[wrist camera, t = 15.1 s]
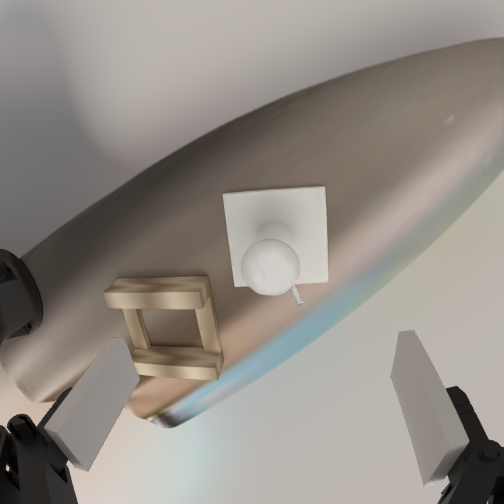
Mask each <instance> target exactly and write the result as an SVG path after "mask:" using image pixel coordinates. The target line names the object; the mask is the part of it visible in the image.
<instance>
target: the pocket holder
mask: <svg viewBox="0 0 504 504" xmlns="http://www.w3.org/2000/svg"><path fill="white" fill-rule="evenodd" d="M103 296H104V299H105V302H106V305H107V308H122V309H123V313H124V316H125V319H126V322H127V325H128V328H129V331H130V334H131V337H132V340H133V343H134V346H135V350H134V351H133V353H132V354H131V357H132V360H133V363H134V365H135V368H136V371H137V373H138V374H140V375H149V376H159V377H171V378H184V379H200V380H218V378H219V375H220V372H221V368H222V365H223V362H224V357H223V352H222V347H221V342H220V336H219V331H218V325H217V320H216V314H215V309H214V303H213V297H212V292H211V286H210V280H209V276H190V277H161V278H128V279H118V280H116V281H115V282H114V283H113V284H112V285H111V286H110V287H109V288H107V289H106V290H105V291H104V292H103ZM140 309H195V310H196V315H197V320H198V325H199V329H200V334H201V338H202V343H203V347H204V348H198V347H171V346H152V345H150V341H149V338H148V335H147V332H146V328H145V325H144V322H143V318H142V315H141V311H140Z"/></svg>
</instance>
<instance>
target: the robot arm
mask: <svg viewBox="0 0 504 504" xmlns="http://www.w3.org/2000/svg"><path fill="white" fill-rule="evenodd" d="M42 315H43V311H42V303H41V299H40V295H39V292H38V289H37V287H36V284H35V282H34V280H33V278H32V276H31V275H30V273H29V271H28V270H27V268H26V267H25V266H24V264H23V263H22V262H21V261H20V260H19V259H18V258H17V257H16V256H15V255H14V254H12V253H11V252H9V251H7V250H4V249H0V346H1V345H2V344H4V343H7V342H10V341H13V340H16V339H19V338H22V337H25V336H28V335H30V334H31V333H32V332H33V331H34V330H36V329H37V328H38V327H39V326H40V324H41V321H42ZM391 379H392V382H393V385H394V388H395V390H396V394H397V397H398V400H399V403H400V405H401V409H402V412H403V415H404V418H405V421H406V424H407V428H408V431H409V434H410V437H411V441H412V444H413V448H414V451H415V455H416V458H417V462H418V466H419V470H420V473H421V476H422V481H423V485H424V487H425V486H429V485H433V484H437V483H440V482H442V481H443V480H444V479H445V477H446V476H447V475H448V478H449V481H450V483H449V484H448V485H447V486H446V488H445V489H444V490H443V492H442V493H441V494H443V495H442V496H441V498H440V500H439V502H438V504H487V501H488V504H504V447H501V446H500V445H499V443H497V442H495V441H493V440H489V439H488V437H487V435H486V433H485V431H484V429H483V427H482V425H481V423H480V421H479V419H478V417H477V415H476V413H475V412H474V409H473V407H472V405H471V404H470V401H469V399H468V397H467V395H466V394H465V393H464V392H463V391H462V390H461V389H459V387H457V386H454V387H450V388H446V389H445V387H444V385H443V383H442V381H441V379H440V377H439V375H438V373H437V371H436V369H435V367H434V366H433V364H432V362H431V360H430V358H429V356H428V355H427V353H426V351H425V349H424V347H423V345H422V343H421V341H420V340H419V338H418V336H417V334H416V333H415V331H414V330H409V331H401V332H399V334H398V341H397V346H396V352H395V357H394V363H393V367H392V372H391ZM139 380H140V378H139V376H138V373H137V371H136V368H135V365H134V363H133V360H132V357H131V355H130V352H129V349H128V347H127V344H126V341H125V339H121V338H112V339H111V340H110V342H109V343H108V344H107V345H106V347H105V348H104V349H103V350H102V352H101V353H100V354H99V355H98V357H97V358H96V359H95V360H94V362H93V363H92V364H91V366H90V367H89V368H88V369H87V371H86V372H85V373H84V374H83V376H82V377H81V378H80V380H79V381H78V382H77V384H76V385H75V386H74V387H73V388H72V387H70V388H68V389H67V390H66V391H64V392H63V393H62V394H61V395H60V396H59V398H58V399H57V402H55V403H54V404H53V406H52V408H50V410H49V411H48V412H47V414H46V415H45V416H44V417H43V419H42V420H41V422H40V423H39V424H38V426H37V427H36V426H35V424H34V423H33V421H32V420H31V418H30V417H29V416H28V415H26V414H18V415H16V416H14V417H12V418H11V419H10V420H9V422H8V424H7V428H8V430H9V431H10V432H11V433H9V432H8V431H7V430H6V429H5V427H3V426H1V425H0V504H78V502H77V498H76V495H75V491H74V488H73V484H72V480H71V476H70V472H69V468H68V467H67V465H66V463H67V461H68V460H69V461H70V462H71V463H72V464H73V465H74V467H76V468H78V469H81V470H84V471H87V472H88V471H89V470H90V468H91V466H92V464H93V462H94V460H95V458H96V457H97V455H98V453H99V451H100V449H101V447H102V446H103V444H104V442H105V440H106V438H107V436H108V435H109V433H110V431H111V429H112V427H113V426H114V424H115V422H116V420H117V419H118V417H119V415H120V413H121V412H122V410H123V408H124V406H125V405H126V403H127V401H128V399H129V398H130V396H131V394H132V392H133V391H134V389H135V387H136V385H137V384H138V382H139ZM6 465H8V466H9V467H10V468H9V471H7V470H6ZM488 499H489V500H488Z"/></svg>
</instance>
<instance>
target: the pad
mask: <svg viewBox="0 0 504 504" xmlns="http://www.w3.org/2000/svg"><path fill="white" fill-rule="evenodd" d="M223 201H224V209H225V217H226V225H227V233H228V240H229V248H230V256H231V263H232V271H233V278H234V285H235V287H243V286H248V285H247V284H246V283H245V281H244V280H243V278H242V274H241V261H242V258H243V255H244V254H245V252H246V250H247V249H248V248H249V247H250V245H251V244H252V243H253V241H254V240H255V238H256V237H257V235H258V233H259V232H260V230H261V229H262V227H264V226H266V225H267V224H269V223H271V222H276V223H282V224H283V225H285V226H286V227H287V228H288V229H289V230H290V234H291V238H292V242H293V245H294V247H295V250H296V253H297V255H298V258H299V262H300V275H299V278H298V280H297V281H296V283H295V284H306V283H323V282H328V247H327V217H326V196H325V187H324V186H310V187H294V188H279V189H266V190H253V191H242V192H231V193H224V194H223Z"/></svg>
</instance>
